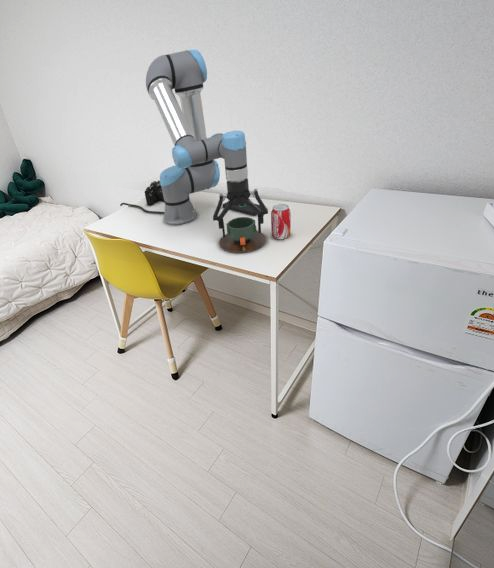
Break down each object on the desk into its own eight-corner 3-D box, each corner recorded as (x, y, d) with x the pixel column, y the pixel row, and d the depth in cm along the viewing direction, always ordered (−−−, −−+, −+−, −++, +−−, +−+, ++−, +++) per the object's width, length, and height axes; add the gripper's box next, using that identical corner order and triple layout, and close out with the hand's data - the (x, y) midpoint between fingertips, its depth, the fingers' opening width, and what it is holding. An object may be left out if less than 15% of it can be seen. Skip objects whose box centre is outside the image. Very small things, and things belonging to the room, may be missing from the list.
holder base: (263, 228, 142) (262, 222, 140) (269, 250, 127) (268, 243, 126) (218, 234, 144) (218, 227, 143) (219, 256, 130) (219, 249, 128)
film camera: (167, 205, 182) (163, 187, 176) (145, 207, 185) (141, 189, 179) (175, 193, 196) (172, 175, 190) (155, 194, 199) (151, 177, 194)
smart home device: (233, 198, 170) (265, 205, 156) (233, 201, 171) (266, 209, 157) (221, 204, 166) (253, 212, 152) (221, 207, 167) (253, 216, 153)
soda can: (291, 240, 131) (291, 210, 124) (271, 241, 132) (270, 211, 126) (290, 231, 136) (290, 202, 130) (271, 232, 138) (270, 204, 131)
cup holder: (227, 230, 139) (226, 219, 136) (255, 226, 137) (254, 215, 135) (228, 246, 128) (226, 234, 125) (258, 243, 126) (257, 231, 123)
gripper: (272, 170, 123) (273, 225, 135) (202, 180, 127) (209, 232, 139) (274, 177, 117) (276, 234, 129) (201, 187, 121) (209, 241, 133)
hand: (241, 233), depth 134 cm, fingers open, 13 cm apart
